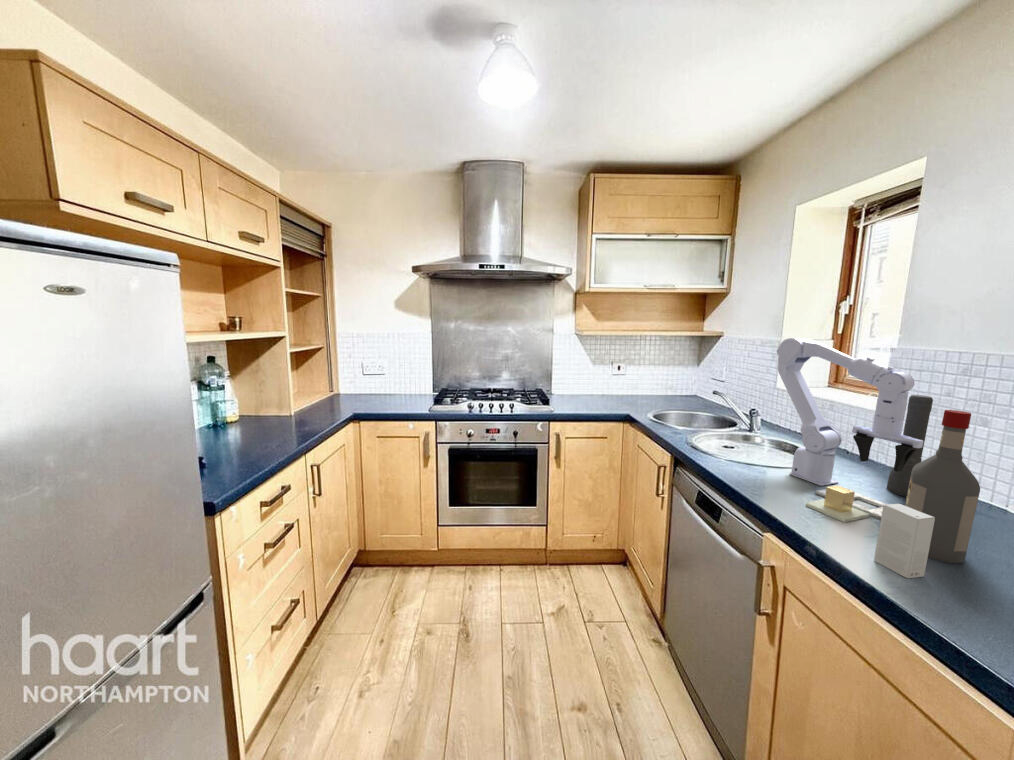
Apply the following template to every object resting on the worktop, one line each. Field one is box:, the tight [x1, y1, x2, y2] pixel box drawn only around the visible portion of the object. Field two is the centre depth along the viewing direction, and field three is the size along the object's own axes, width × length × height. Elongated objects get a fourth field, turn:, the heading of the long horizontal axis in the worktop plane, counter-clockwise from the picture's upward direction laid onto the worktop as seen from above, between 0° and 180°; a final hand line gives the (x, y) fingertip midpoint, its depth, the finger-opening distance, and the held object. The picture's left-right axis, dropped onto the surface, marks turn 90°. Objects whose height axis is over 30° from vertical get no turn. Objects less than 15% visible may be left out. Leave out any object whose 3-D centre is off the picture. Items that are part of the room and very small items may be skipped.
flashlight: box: [886, 394, 934, 497], centre depth 113 cm, size 7×28×7 cm
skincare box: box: [873, 503, 935, 579], centre depth 77 cm, size 6×4×12 cm
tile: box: [805, 498, 870, 523], centre depth 102 cm, size 9×9×1 cm
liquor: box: [904, 409, 981, 564], centre depth 83 cm, size 9×9×30 cm
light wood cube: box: [823, 485, 856, 513], centre depth 102 cm, size 4×4×5 cm
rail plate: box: [815, 488, 888, 520], centre depth 106 cm, size 18×10×1 cm, turn 20°
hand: (880, 465), depth 109 cm, fingers open, 7 cm apart
